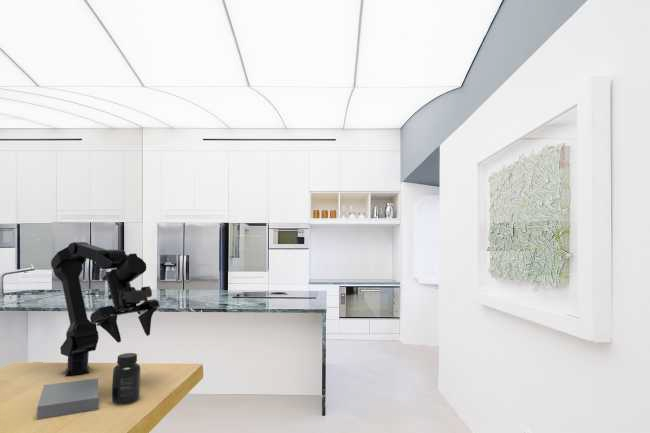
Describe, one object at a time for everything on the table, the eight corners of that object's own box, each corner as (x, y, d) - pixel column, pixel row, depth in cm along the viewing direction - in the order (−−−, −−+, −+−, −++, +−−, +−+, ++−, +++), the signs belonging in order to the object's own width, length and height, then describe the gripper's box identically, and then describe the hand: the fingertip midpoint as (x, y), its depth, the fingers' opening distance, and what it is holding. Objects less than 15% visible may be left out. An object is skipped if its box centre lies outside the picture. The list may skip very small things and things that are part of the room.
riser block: (43, 396, 112) (44, 385, 113) (97, 388, 119) (98, 377, 119) (36, 419, 99) (37, 406, 99) (98, 409, 105) (99, 397, 105)
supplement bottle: (144, 395, 115) (146, 352, 115) (130, 406, 108) (132, 359, 108) (121, 394, 115) (123, 350, 116) (105, 404, 108) (108, 358, 109)
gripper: (105, 279, 111) (119, 335, 107) (163, 274, 127) (178, 322, 123) (83, 296, 116) (96, 349, 111) (142, 289, 132) (155, 335, 128)
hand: (134, 338), depth 118 cm, fingers open, 9 cm apart
